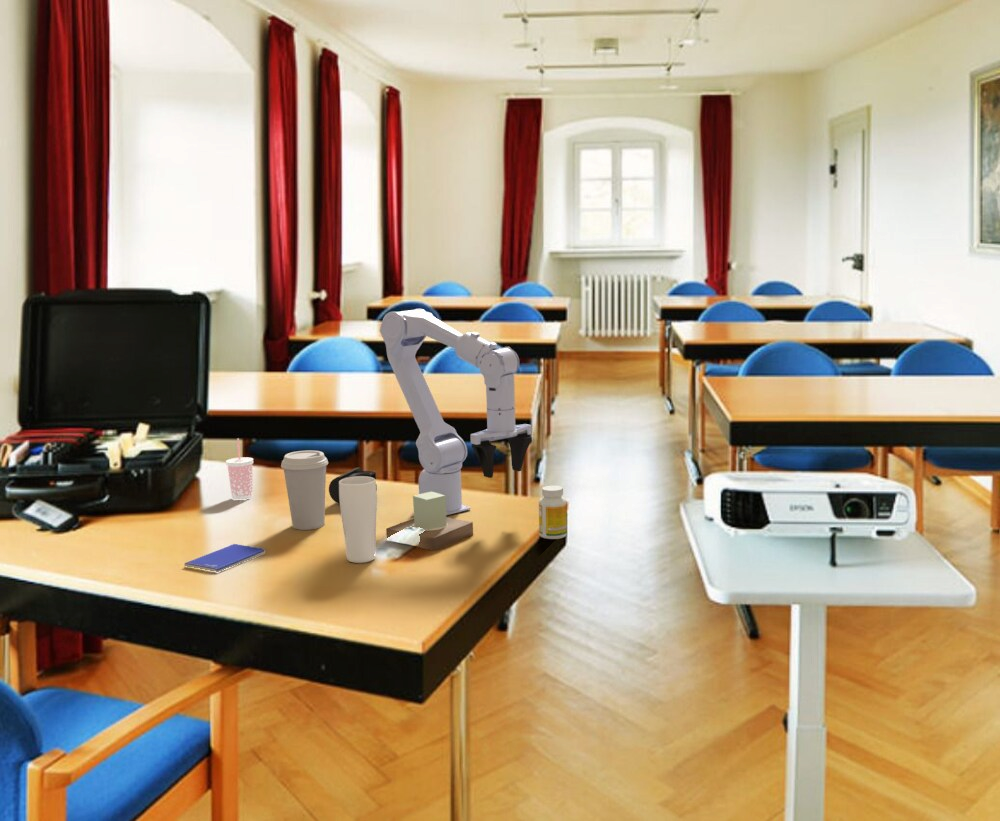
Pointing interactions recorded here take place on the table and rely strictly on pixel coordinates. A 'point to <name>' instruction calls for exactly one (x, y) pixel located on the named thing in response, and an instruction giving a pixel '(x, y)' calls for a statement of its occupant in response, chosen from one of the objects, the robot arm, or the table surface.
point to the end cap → (355, 472)
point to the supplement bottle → (552, 513)
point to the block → (429, 510)
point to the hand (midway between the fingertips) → (502, 473)
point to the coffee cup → (306, 488)
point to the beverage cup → (240, 476)
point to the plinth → (438, 533)
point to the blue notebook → (225, 557)
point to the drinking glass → (359, 517)
